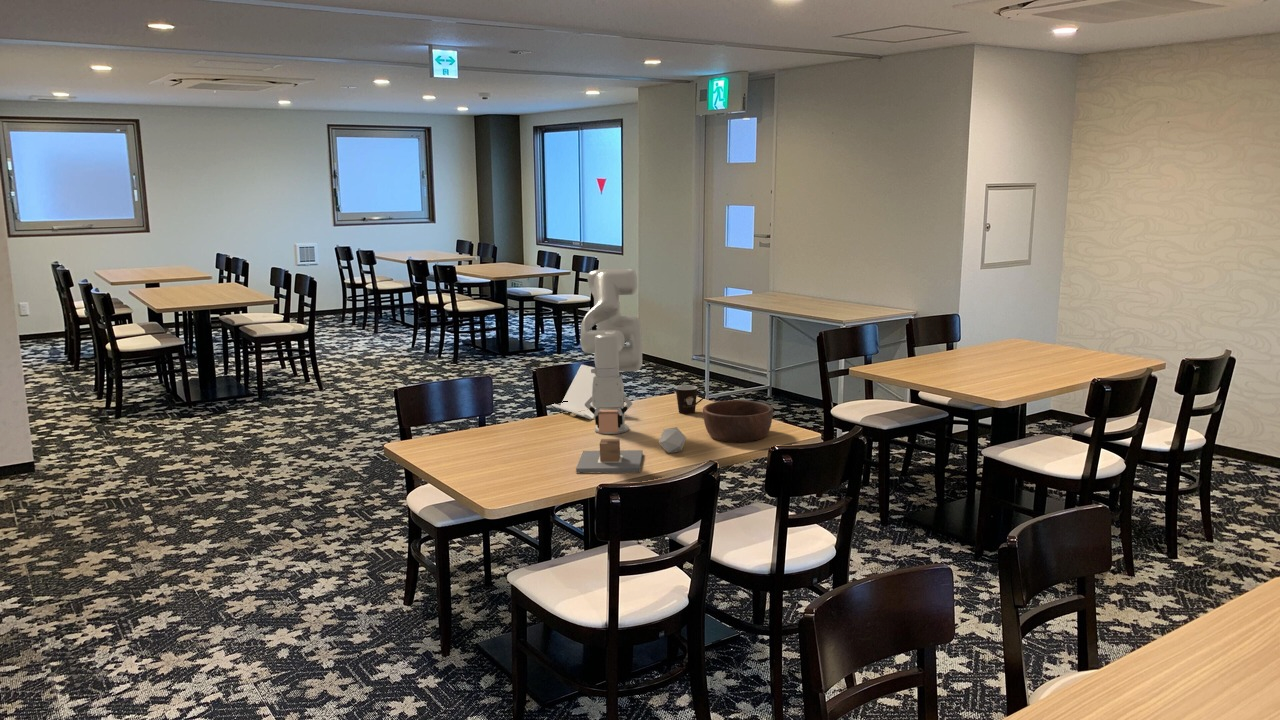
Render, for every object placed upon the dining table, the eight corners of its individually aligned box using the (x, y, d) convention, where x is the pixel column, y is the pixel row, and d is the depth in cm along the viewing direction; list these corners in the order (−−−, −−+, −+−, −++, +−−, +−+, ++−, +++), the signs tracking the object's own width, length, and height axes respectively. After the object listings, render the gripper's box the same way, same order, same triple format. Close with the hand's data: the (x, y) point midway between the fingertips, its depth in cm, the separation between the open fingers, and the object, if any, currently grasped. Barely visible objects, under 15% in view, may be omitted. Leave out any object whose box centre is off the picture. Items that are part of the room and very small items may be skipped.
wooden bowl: (787, 436, 335) (788, 408, 333) (733, 449, 321) (733, 420, 319) (741, 423, 355) (741, 396, 353) (688, 434, 341) (688, 406, 339)
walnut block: (601, 456, 311) (601, 438, 310) (620, 456, 310) (619, 438, 309) (600, 461, 305) (599, 443, 304) (618, 461, 305) (618, 443, 303)
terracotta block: (600, 427, 309) (600, 409, 308) (619, 427, 308) (618, 409, 307) (599, 432, 303) (598, 414, 302) (617, 432, 303) (617, 414, 301)
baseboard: (583, 455, 318) (583, 450, 318) (642, 454, 317) (642, 450, 317) (576, 473, 299) (576, 468, 298) (639, 472, 298) (639, 467, 297)
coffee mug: (674, 414, 370) (674, 389, 368) (677, 409, 378) (676, 385, 376) (704, 415, 368) (703, 390, 366) (706, 410, 376) (706, 385, 374)
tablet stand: (588, 403, 394) (586, 363, 391) (622, 414, 374) (621, 372, 371) (550, 410, 384) (549, 369, 380) (584, 421, 364) (582, 378, 361)
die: (678, 447, 326) (661, 426, 325) (694, 439, 320) (677, 418, 319) (667, 461, 321) (649, 440, 319) (683, 453, 314) (665, 431, 313)
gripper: (579, 375, 299) (581, 430, 302) (633, 374, 298) (635, 429, 301) (581, 370, 306) (584, 424, 310) (634, 369, 305) (636, 423, 309)
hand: (609, 426), depth 305 cm, fingers closed on terracotta block, 6 cm apart
